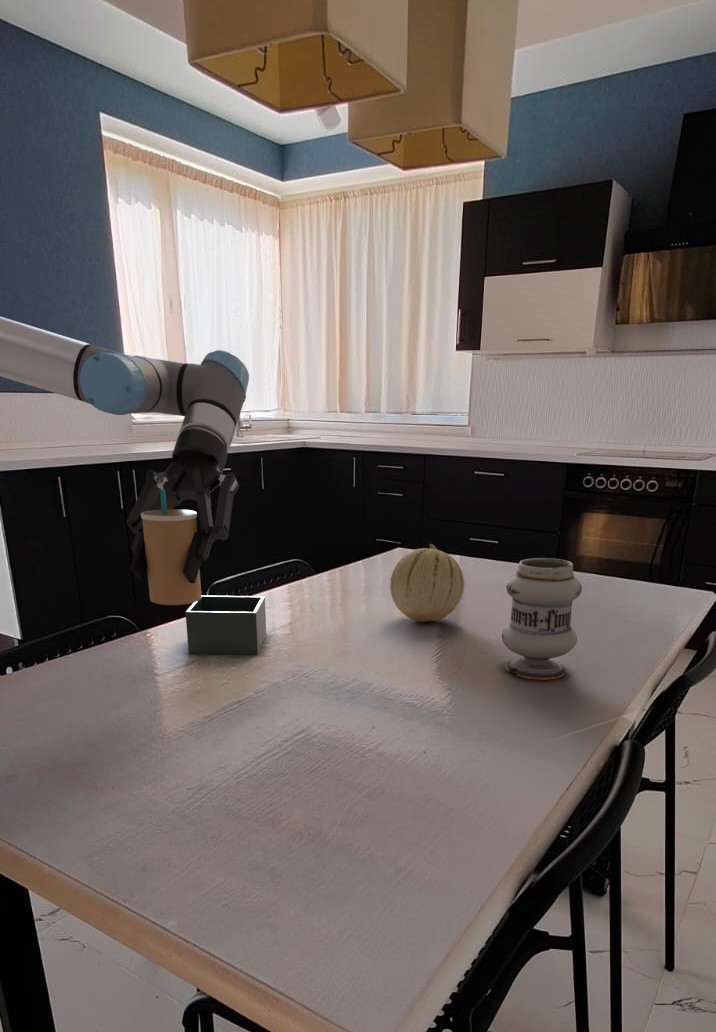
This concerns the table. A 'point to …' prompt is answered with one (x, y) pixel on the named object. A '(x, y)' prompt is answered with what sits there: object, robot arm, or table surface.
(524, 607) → the apothecary jar
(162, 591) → the drink cup
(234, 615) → the bin
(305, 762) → the table surface
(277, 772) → the table surface
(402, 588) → the cantaloupe
